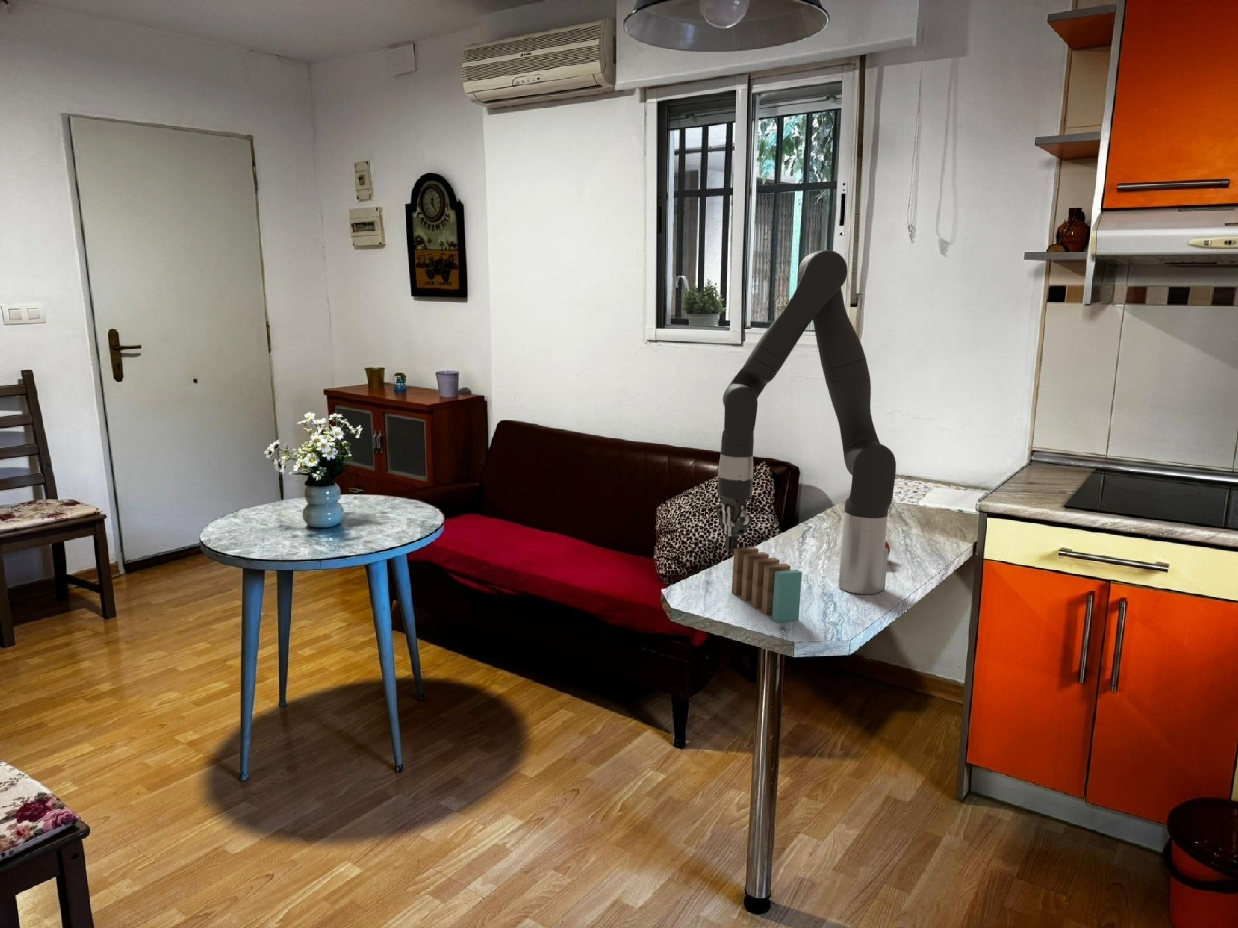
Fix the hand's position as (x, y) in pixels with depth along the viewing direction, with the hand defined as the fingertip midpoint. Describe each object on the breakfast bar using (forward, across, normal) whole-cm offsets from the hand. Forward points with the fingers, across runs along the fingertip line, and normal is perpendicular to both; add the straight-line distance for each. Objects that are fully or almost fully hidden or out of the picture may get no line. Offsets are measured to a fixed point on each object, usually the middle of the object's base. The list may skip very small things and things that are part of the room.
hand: (731, 551), depth 190 cm
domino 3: (+8, +15, 0) cm, 17 cm away
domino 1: (+8, +6, 0) cm, 10 cm away
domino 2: (+8, +11, 0) cm, 13 cm away
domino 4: (+8, +19, 0) cm, 21 cm away
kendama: (+8, -3, +40) cm, 41 cm away
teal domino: (+8, +23, 0) cm, 24 cm away
